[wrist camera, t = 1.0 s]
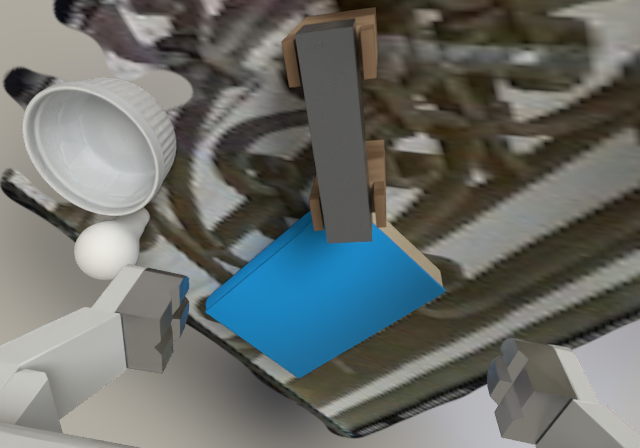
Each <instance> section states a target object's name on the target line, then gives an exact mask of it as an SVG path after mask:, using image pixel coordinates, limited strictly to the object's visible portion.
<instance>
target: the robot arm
mask: <svg viewBox="0 0 640 448" xmlns="http://www.w3.org/2000/svg"><path fill="white" fill-rule="evenodd" d="M188 289H189V278H188V277H187V276H184V275H180V274H175V273H171V272H166V271H161V270H157V269H152V268H145V267H140V266H136V265H131V264H127V265H125V266H124V267H122V269H121V270H120V271H119V272H118V274H117V275H116V276H115V278H114V279H113V280H112V281H111V283H110V284H109V285H108V287H107V288H106V289H105V290H104V292H103V293H102V294H101V295H100V297H99V298H98V299H97V301H96V302H95V303H94V304H93V306H92V307H91V308H88V307H84V308H81V309H79V310H77V311H75V312H73V313H70V314H68V315H66V316H64V317H62V318H59V319H58V320H55V321H53V322H51V323H49V324H47V325H44V326H42V327H40V328H38V329H36V330H33V331H31V332H29V333H27V334H25V335H23V336H20V337H18V338H16V339H14V340H12V341H9V342H7V343H5V344H3V345H1V346H0V448H139V447H133V446H128V445H122V444H117V443H111V442H106V441H101V440H95V439H90V438H84V437H79V436H74V435H69V434H63V433H62V429H61V425H60V422H59V420H60V419H61V418H62V417H64V416H65V415H66V414H68V413H69V412H70V411H72V410H73V409H75V408H76V407H77V406H78V405H80V404H81V403H83V402H84V401H85V400H87V399H88V398H89V397H91V396H92V395H94V394H95V393H96V392H98V391H99V390H100V389H102V388H103V387H104V386H106V385H107V384H109V383H110V382H111V381H113V380H114V379H115V378H117V377H118V376H119V375H121V374H122V373H123V372H125V371H126V370H127V368H130V369H137V370H143V371H149V372H156V373H163V371H164V369H165V367H166V365H167V363H168V361H169V359H170V357H171V355H172V353H173V341H175V340H177V339H178V338H180V336H181V334H182V332H183V330H184V328H185V324H186V321H187V318H188V311H189V301H188V299H187V298H186V297H185V295H186V293H187V291H188ZM500 348H501V351H502V355H500V356H499V357H497V358H495V359H493V361H492V363H491V365H490V367H489V370H488V376H487V384H488V390H489V394H490V397H491V398H492V399H493V400H494V401H495V402H496V403H497V404H498V407H497V409H496V410H495V416H496V419H497V423H498V426H499V430H500V433H501V437H503V438H507V439H512V440H516V441H521V442H526V443H531V444H535V445H536V448H640V434H639V433H638V432H637V431H636V430H635V429H633V428H632V427H631V426H630V425H629V424H628V423H627V422H625V421H624V420H623V419H622V418H621V417H620V416H619V415H618V414H616V413H615V412H614V411H613V410H612V409H611V408H609V407H608V406H606V405H601V403H600V401H599V399H598V397H597V395H596V393H595V392H594V390H593V388H592V386H591V384H590V382H589V380H588V378H587V376H586V374H585V372H584V370H583V369H582V367H581V365H580V363H579V361H578V359H577V357H576V355H575V353H574V352H573V351H572V350H571V349H570V348H567V347H562V346H556V345H550V344H548V345H547V344H543V343H538V342H532V341H527V340H521V339H516V338H510V337H509V338H507V339H506V340H505V341H504V342H503V344H502V345H501V347H500Z"/></svg>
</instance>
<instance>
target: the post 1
mask: <svg viewBox="0 0 640 448" xmlns="http://www.w3.org/2000/svg"><path fill="white" fill-rule="evenodd" d="M353 18H355V19H356V30H357V42H358V54H359V65H360V71H364V79H372V78H376V75H377V53H378V39H377V23H376V7H374V8H367V9H359V10H352V11H345V12H338V13H330V14H323V15H316V16H309V17H306V18H305V19H304V20H303V21H302V22H301V23H300V24H299V25H298V26H297V27H296V28H295V29H294V30H293V31H292V32H291V33H290V34H289V35H288V36H287V37H286V38H285V39H284V40H283V41H282V48H283V54H284V59H285V65H286V71H287V77H288V82H289V88H290V87H299V86H301V85H302V77H301V71H300V64H299V58H298V52H297V45H296V39H295V34H296V33H297V32H298V31H299V29H300V28H301V27H302V26H303V25H309V24H316V23H324V22H331V21H338V20H346V19H353Z"/></svg>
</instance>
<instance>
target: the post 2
mask: <svg viewBox="0 0 640 448" xmlns="http://www.w3.org/2000/svg"><path fill="white" fill-rule="evenodd" d="M366 146H367V158H368V170H369V181H370V193H371V204H372V213H375V215H376V227H377V228H384V227H386V166H385V150H384V140H374V141H366ZM309 203H310V209H311V214H312V220H313V226H314V231H322V230H324V227H325V223H324V217H323V210H322V204H321V198H320V191H319V185H318V179H317V174H316V177H315V181H314V184H313V188H312V191H311V195H310V198H309Z"/></svg>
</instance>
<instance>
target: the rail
mask: <svg viewBox="0 0 640 448" xmlns="http://www.w3.org/2000/svg"><path fill="white" fill-rule="evenodd" d="M295 39H296V45H297V52H298V58H299V64H300V71H301V77H302V83H303V90H304V96H305V102H306V109H307V115H308V121H309V128H310V134H311V141H312V147H313V153H314V160H315V166H316V172H317V179H318V185H319V191H320V198H321V204H322V210H323V217H324V223H325V229H326V236H327V242H328V243H349V242H372V222H373V216H372V204H371V193H370V181H369V170H368V158H367V146H366V135H365V123H364V112H363V100H362V88H361V77H360V65H359V54H358V42H357V30H356V19H355V18H353V19H346V20H338V21H331V22H324V23H316V24H309V25H303V26H302V27H301V28H300V29H299V31H298V32H297V33H296V34H295Z"/></svg>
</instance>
